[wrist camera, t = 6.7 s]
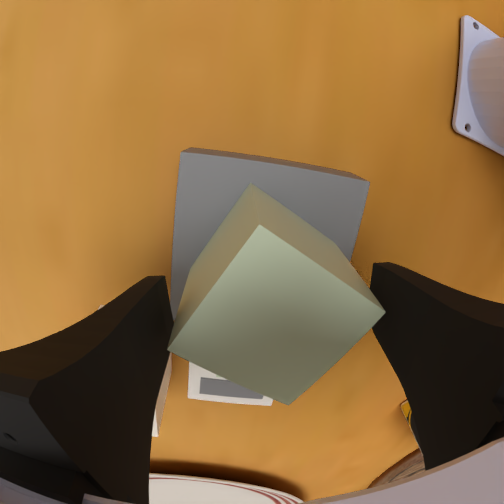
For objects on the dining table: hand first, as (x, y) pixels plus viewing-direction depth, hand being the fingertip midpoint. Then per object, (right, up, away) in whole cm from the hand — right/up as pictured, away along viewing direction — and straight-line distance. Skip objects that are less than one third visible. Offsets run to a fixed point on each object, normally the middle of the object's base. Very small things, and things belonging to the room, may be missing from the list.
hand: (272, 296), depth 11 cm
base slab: (0, +2, +6) cm, 6 cm away
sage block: (0, +1, +3) cm, 3 cm away
